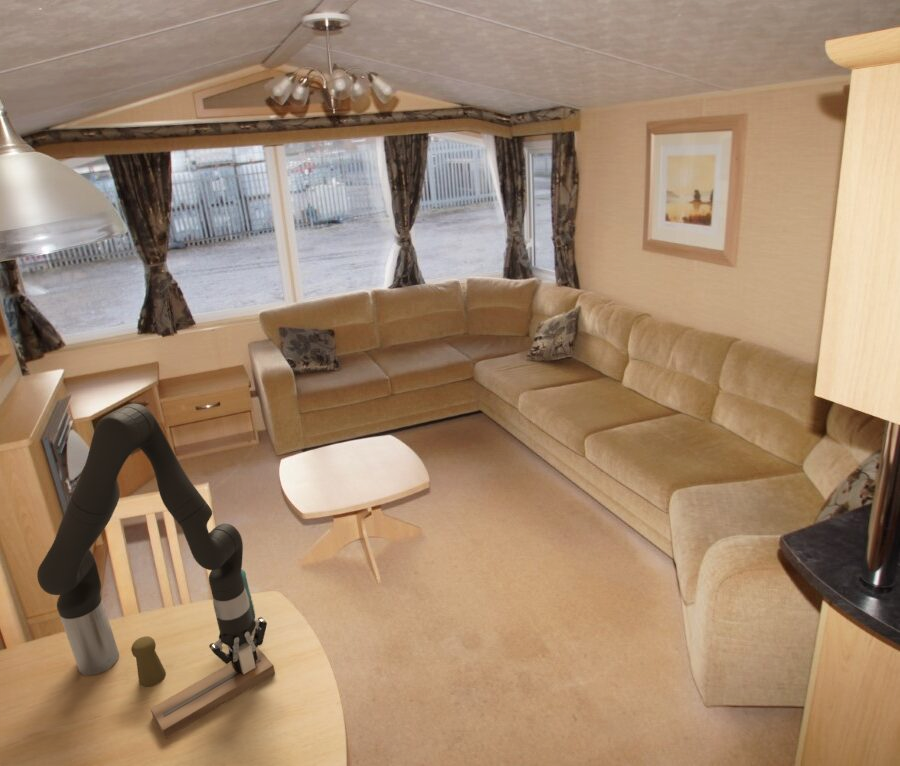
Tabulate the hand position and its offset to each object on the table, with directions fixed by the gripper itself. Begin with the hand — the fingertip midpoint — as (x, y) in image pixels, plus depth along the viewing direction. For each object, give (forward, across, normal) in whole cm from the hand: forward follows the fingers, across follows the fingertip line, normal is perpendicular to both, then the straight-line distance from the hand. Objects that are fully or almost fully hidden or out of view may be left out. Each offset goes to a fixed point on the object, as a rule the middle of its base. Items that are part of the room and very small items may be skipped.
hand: (245, 665), depth 161 cm
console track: (+3, +8, 0) cm, 9 cm away
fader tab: (0, 0, 0) cm, 0 cm away
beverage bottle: (+3, -7, -17) cm, 19 cm away
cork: (+3, +17, -16) cm, 24 cm away
